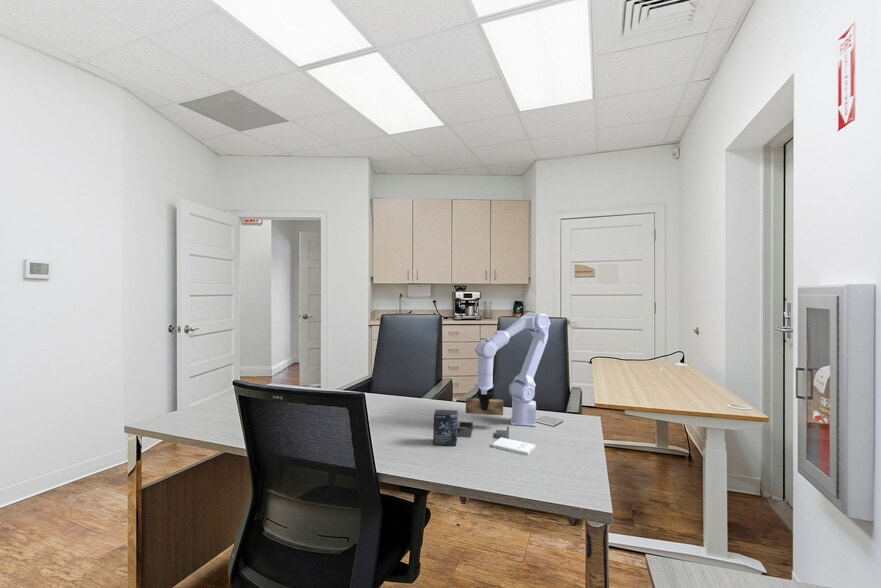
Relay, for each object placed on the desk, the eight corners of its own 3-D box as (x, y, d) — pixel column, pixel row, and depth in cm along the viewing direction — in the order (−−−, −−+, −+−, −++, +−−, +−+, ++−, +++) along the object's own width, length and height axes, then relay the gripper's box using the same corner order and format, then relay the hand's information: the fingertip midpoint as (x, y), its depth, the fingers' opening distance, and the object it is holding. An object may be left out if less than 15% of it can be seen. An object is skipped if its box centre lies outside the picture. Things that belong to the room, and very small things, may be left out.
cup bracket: (472, 430, 154) (472, 422, 154) (470, 437, 147) (471, 428, 146) (458, 429, 155) (458, 421, 155) (455, 435, 147) (455, 427, 147)
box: (433, 445, 138) (433, 413, 138) (434, 439, 144) (435, 409, 144) (456, 446, 137) (457, 414, 137) (457, 440, 143) (457, 410, 143)
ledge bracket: (508, 433, 151) (508, 426, 151) (508, 439, 145) (508, 432, 145) (496, 432, 152) (496, 425, 152) (495, 438, 146) (495, 431, 146)
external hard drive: (501, 441, 145) (535, 448, 138) (491, 448, 138) (527, 456, 131) (501, 436, 145) (535, 443, 138) (491, 444, 138) (528, 451, 131)
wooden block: (503, 412, 158) (503, 399, 158) (502, 415, 155) (503, 402, 154) (466, 410, 160) (466, 397, 160) (465, 413, 157) (465, 400, 157)
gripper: (476, 369, 165) (475, 402, 165) (473, 376, 151) (472, 413, 151) (494, 369, 164) (493, 403, 164) (492, 377, 150) (492, 414, 150)
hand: (484, 408), depth 157 cm, fingers closed on wooden block, 3 cm apart
